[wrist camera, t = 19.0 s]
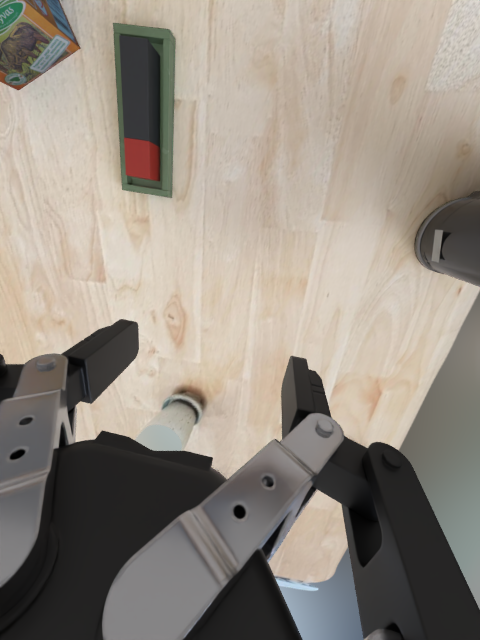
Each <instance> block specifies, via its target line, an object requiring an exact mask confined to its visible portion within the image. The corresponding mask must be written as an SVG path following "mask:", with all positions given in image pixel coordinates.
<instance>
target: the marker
mask: <svg viewBox="0 0 480 640" xmlns="http://www.w3.org/2000/svg"><path fill="white" fill-rule="evenodd" d="M119 43H120V63H121V84H122V104H123V124H124V137H125V138H124V146H125V166H126V175H128V176H132V177H136V178H140V179H146V180H153V181H159V182H160V55H159V54H158V52H157V51H156V50H155V48H154V47H153V46H152V44H151V43H150V41H149V40H148V39H146V38H138V37H130V36H121V35H119Z"/></svg>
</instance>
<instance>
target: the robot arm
mask: <svg viewBox="0 0 480 640" xmlns="http://www.w3.org/2000/svg"><path fill="white" fill-rule="evenodd" d="M415 252H416V256H417V258H418V260H419V261H420V263H421V264H422V265H423V266H424V267H426V268H428V269H430V270H432V271H435V272H438V273H442V274H446V275H448V276H451V277H454V278H456V279H459V280H462V281H465V282H468V283H471V284H473V285H476V286H479V287H480V191H476V192H473V193H472V194H471V195H470V196H468V197H467V198H460V199H456V200H453V201H450V202H448V203H446V204H444V205H442V206H440V207H439V208H437V209H436V210H435V211H433V212H432V213H431V214H430V215H429V216H428V217H427V218H426V220H425V221H424V222H423V224H422V225H421V227H420V229H419V231H418V233H417V236H416V240H415ZM138 350H139V338H138V324H137V322H133V321H129V320H124V319H120V320H119V321H117V322H116V323H114V324H113V325H111V326H108V327H105V328H102V329H99V330H97V331H96V332H94V333H93V334H91V335H90V336H88V337H87V338H85V339H84V340H82V341H80V342H79V343H77V344H76V345H74V346H73V347H71V348H70V349H68V350H67V351H65V352H64V353H62V354H45V355H41V356H38V357H35V358H33V359H31V360H29V361H28V362H27V363H25V364H5V360H4V357H3V355H1V354H0V640H302V638H301V635H300V633H299V631H298V629H297V626H296V624H295V622H294V620H293V617H292V615H291V613H290V611H289V608H288V606H287V604H286V602H285V600H284V597H283V595H282V593H281V591H280V588H279V586H278V584H277V582H276V579H275V577H274V575H273V573H272V570H271V568H270V566H269V564H268V562H269V561H270V559H271V558H272V556H273V555H274V554H275V552H276V551H277V549H278V548H279V546H280V545H281V543H282V542H283V540H284V539H285V537H286V535H287V534H288V532H289V530H290V529H291V527H292V525H293V524H294V522H295V521H296V520H297V518H298V517H299V515H300V514H301V513H302V511H303V510H304V508H305V507H306V506H307V504H308V503H309V501H310V500H311V498H312V497H313V496H314V494H315V493H316V491H317V490H319V491H321V492H323V493H324V494H326V495H328V496H329V497H331V498H333V499H335V500H336V501H338V502H340V503H341V504H342V510H343V517H344V523H345V529H346V535H347V541H348V547H349V553H350V559H351V565H352V571H353V577H354V583H355V590H356V596H357V602H358V607H359V614H360V620H361V626H362V631H363V638H364V640H480V610H479V608H478V605H477V603H476V601H475V599H474V597H473V595H472V593H471V591H470V589H469V586H468V584H467V582H466V580H465V578H464V576H463V573H462V571H461V570H460V567H459V565H458V563H457V561H456V559H455V557H454V554H453V552H452V550H451V548H450V546H449V544H448V542H447V539H446V537H445V535H444V533H443V531H442V529H441V527H440V525H439V522H438V520H437V518H436V516H435V514H434V512H433V510H432V507H431V505H430V503H429V501H428V499H427V497H426V495H425V493H424V491H423V489H422V486H421V484H420V482H419V480H418V478H417V475H416V473H415V471H414V469H413V467H412V465H411V463H410V462H409V461H408V459H407V458H406V457H405V456H404V455H403V454H402V453H401V452H399V451H398V450H397V449H395V448H394V447H392V446H390V445H388V444H385V443H381V442H375V443H372V444H371V445H370V446H369V448H366V447H364V446H362V445H360V444H358V443H356V442H354V441H352V440H350V439H348V438H347V437H345V436H344V433H343V430H342V428H341V427H340V425H339V424H338V423H337V422H336V421H335V420H333V419H332V418H331V414H330V410H329V406H328V402H327V399H326V395H325V391H324V388H323V383H322V379H321V378H320V376H319V375H318V374H317V373H316V371H312V370H309V369H308V364H307V360H306V359H304V358H300V357H295V356H291V357H290V359H289V363H288V366H287V369H286V372H285V376H284V379H283V383H282V390H281V402H282V440H281V441H280V442H279V441H278V440H276V439H274V440H272V441H271V442H270V443H268V444H267V445H266V446H265V447H264V448H263V449H262V450H260V451H259V452H258V453H257V454H256V455H255V456H254V457H253V458H251V459H250V460H249V461H248V462H247V463H246V464H245V465H244V466H242V467H241V468H240V469H239V470H238V471H237V472H236V473H234V474H233V475H232V476H231V477H230V478H229V479H228V480H227V479H226V478H225V477H224V476H223V475H221V474H220V473H219V472H217V471H216V470H214V469H213V468H211V466H212V460H213V458H212V457H208V456H204V455H200V454H195V453H191V452H187V451H153V450H150V449H148V448H147V447H145V446H143V445H142V444H140V443H138V442H136V441H135V440H133V439H131V438H129V437H126V436H122V435H118V434H114V433H110V432H106V431H101V433H100V434H99V435H98V436H97V438H96V439H95V440H85V441H80V442H76V443H75V440H76V418H77V408H76V405H77V404H78V403H79V402H80V401H82V402H86V403H90V404H92V403H93V402H94V401H95V400H96V399H97V398H98V397H99V396H100V394H101V393H102V392H103V391H104V390H105V389H106V388H107V387H108V386H109V385H110V384H111V383H112V382H113V381H114V380H115V379H116V378H117V377H118V376H119V375H120V374H121V373H122V372H123V371H124V370H125V369H126V368H127V367H128V365H129V364H130V363H131V362H132V361H133V360H134V359H135V358H136V356H137V354H138Z"/></svg>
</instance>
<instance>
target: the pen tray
mask: <svg viewBox="0 0 480 640" xmlns="http://www.w3.org/2000/svg"><path fill="white" fill-rule="evenodd" d="M113 29H114V48H115V66H116V85H117V103H118V121H119V139H120V157H121V175H122V183H123V184H122V190H126V191H133V192H139V193H145V194H151V195H158V196H164V197H170V198H172V164H173V118H174V73H175V38H174V36H173V34H172V32H171V31H170V30H169V29H161V28H153V27H144V26H136V25H127V24H119V23H113ZM119 35H121V36H130V37H138V38H146V39H148V40H149V41H150V43H151V44H152V46H153V47H154V48H155V50H156V51H157V52H158V54H159V55H160V182H159V181H153V180H146V179H140V178H136V177H132V176H128V175H126V166H125V146H124V138H125V137H124V124H123V104H122V84H121V63H120V43H119Z"/></svg>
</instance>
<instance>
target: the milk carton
mask: <svg viewBox="0 0 480 640" xmlns="http://www.w3.org/2000/svg"><path fill="white" fill-rule="evenodd" d="M78 49H80V47H79V45H78V43H77V40H76V38H75V36H74V33H73V31H72V29H71V27H70V24H69V22H68V20H67V17H66V15H65V13H64V11H63V8H62V6H61V4H60V1H59V0H0V82H2V83H4V84H6V85H8V86H10V87H13V88H15V89H17V90H20V89H21V88H23V87H24V86H26V85H27V84H28V83H30V82H31V81H33V80H34V79H36V78H37V77H39V76H40V75H42V74H43V73H45V72H46V71H48V70H49V69H50V68H52V67H53V66H55V65H56V64H58V63H59V62H61V61H62V60H64V59H65V58H67V57H68V56H70V55H71V54H73V53H74V52H75V51H77V50H78Z"/></svg>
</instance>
